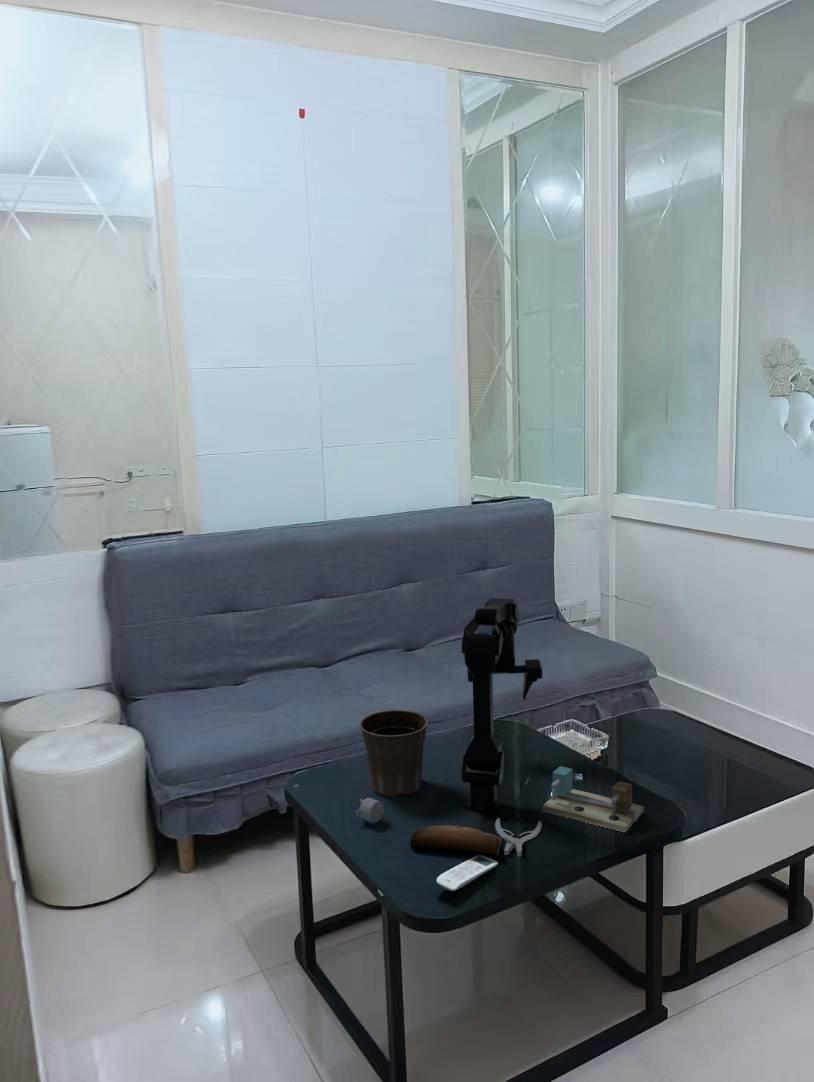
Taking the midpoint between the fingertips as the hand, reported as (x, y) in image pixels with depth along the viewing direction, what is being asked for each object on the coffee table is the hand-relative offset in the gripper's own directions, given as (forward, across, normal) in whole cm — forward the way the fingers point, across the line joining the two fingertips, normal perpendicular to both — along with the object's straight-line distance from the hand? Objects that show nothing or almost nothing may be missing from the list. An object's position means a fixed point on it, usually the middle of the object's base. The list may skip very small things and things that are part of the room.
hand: (505, 700), depth 221 cm
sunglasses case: (+6, +13, +49) cm, 51 cm away
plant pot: (+10, +28, +22) cm, 37 cm away
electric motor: (+7, +32, +38) cm, 51 cm away
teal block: (+7, -10, +30) cm, 33 cm away
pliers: (+7, +1, +46) cm, 47 cm away
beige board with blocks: (+9, -17, +35) cm, 40 cm away
